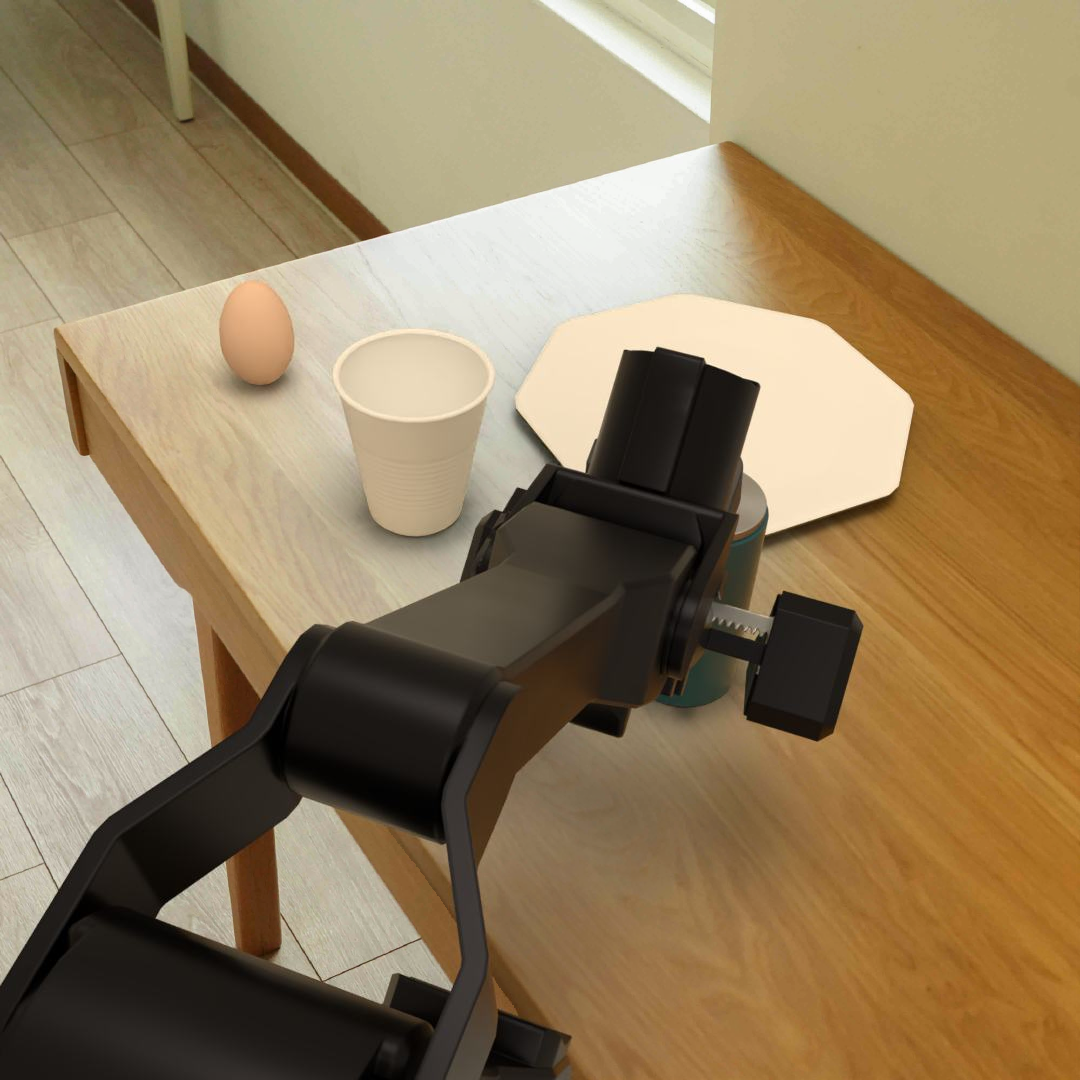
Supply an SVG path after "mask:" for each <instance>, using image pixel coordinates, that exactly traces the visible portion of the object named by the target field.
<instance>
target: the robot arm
mask: <svg viewBox="0 0 1080 1080" xmlns="http://www.w3.org/2000/svg"><path fill="white" fill-rule="evenodd" d="M760 388H761V386H760V384H759V383H758V382H756V381H752V380H749V379H744V378H742V377H740V376H737V375H735V374H733V373H730V372H728V371H726V370H723V369H720V368H717V367H715V366H712V365H709V364H706V361H705V359H704V358H703V357H698V356H694V355H690V354H686V353H682V352H678V351H674V350H670V349H666V348H662V347H656V349H655V351H645V350H623V354H622V357H621V360H620V364H619V367H618V370H617V374H616V377H615V381H614V384H613V387H612V391H611V394H610V398H609V401H608V404H607V408H606V411H605V415H604V418H603V421H602V425H601V428H600V432H599V435H598V438H597V439H595V440H594V443H593V445H592V448H591V451H590V453H589V456H588V459H587V461H586V470H585V472H581V471H577V470H573V469H570V468H566V467H562V466H561V465H560V464H556V463H555V464H554V463H551V462H547V463H545V465H544V466H543V467H542V469H541V470H540V472H539V473H538V474H537V475H536V477H535V478H534V479H533V481H532V482H531V484H530V485H529V486H528V488H525V489H524V488H522V487H518V486H517V487H516V488H515V490H514V492H513V493H512V495H511V496H510V498H509V499H508V501H507V503H506V505H505V507H504V509H503V510H498V509H493V510H492V511H490V512H489V513H487V514H486V515H484V516H483V517H481V519H480V520H479V522H478V523H477V525H476V526H475V528H474V532H473V535H472V539H471V541H470V542H471V543H470V545H469V549H468V552H467V555H466V559H465V563H464V566H463V569H462V572H461V575H460V579H459V582H458V583H456V584H453V585H450V586H449V587H446V588H444V589H442V590H439V591H437V592H434V593H432V594H431V595H428V596H426V597H422V598H421V599H419V600H416V601H414V602H411V603H409V604H407V605H405V606H402V607H400V608H397V609H396V610H393V611H391V612H388V613H386V614H383V615H382V616H379V617H376V618H374V619H373V620H370V621H368V622H366V623H362V622H358V621H356V620H350V621H345V622H344V623H342V624H340V625H339V626H337V627H335V626H333V625H330V624H324V623H314V624H313V625H312V626H310V627H309V628H308V629H306V630H305V631H304V632H302V633H301V634H300V635H299V637H298V638H297V639H296V641H295V642H294V644H293V645H291V648H290V649H289V650H288V652H287V653H286V655H285V656H284V658H283V660H282V662H280V663H281V664H280V665H279V667H278V669H277V670H276V672H275V674H274V676H273V677H272V678H271V681H270V683H269V685H268V686H267V688H266V690H265V691H264V693H263V695H262V697H261V699H260V701H259V702H258V704H257V705H256V707H255V709H254V711H253V713H252V714H251V716H250V718H249V720H248V721H247V723H246V724H245V725H244V726H242V727H241V728H239V729H237V730H236V731H235V732H233V733H231V734H230V735H229V736H227V737H226V738H224V739H223V740H221V741H220V742H217V744H215V745H214V746H212V747H211V748H209V749H208V750H206V751H205V752H203V753H202V754H200V755H199V756H197V757H196V758H194V759H193V760H191V761H190V762H188V763H187V764H185V765H184V766H182V767H181V768H179V769H178V770H177V771H174V772H173V773H172V774H170V775H169V776H167V777H166V778H165V779H163V780H162V781H160V782H159V783H157V784H156V785H154V786H152V787H151V788H150V789H148V790H147V791H145V792H144V793H142V794H141V795H139V796H138V797H136V798H135V799H133V800H131V801H129V803H127V804H125V805H124V806H122V807H121V808H119V809H118V810H117V811H116V812H114V813H112V814H111V815H109V816H108V817H107V818H106V819H105V820H104V821H103V822H102V823H101V824H100V825H99V826H98V827H97V828H96V829H95V830H94V831H93V833H92V834H91V835H90V838H89V839H88V841H87V843H86V844H85V845H84V848H83V849H82V851H81V852H80V854H79V856H78V857H77V858H76V861H75V862H74V864H73V865H72V867H71V869H70V870H69V872H68V873H67V875H66V877H65V879H64V880H63V882H62V884H61V885H60V886H59V888H58V890H57V892H56V894H54V897H52V900H51V901H50V903H49V905H48V906H47V908H46V910H45V911H44V913H43V915H42V916H41V918H40V919H39V921H38V923H37V925H36V926H35V928H34V929H33V931H32V933H31V934H30V936H29V937H28V939H27V941H26V943H25V944H24V945H23V947H22V949H21V950H20V952H19V954H18V955H17V957H16V959H15V960H14V962H13V963H12V965H11V967H10V968H9V970H8V972H7V974H6V975H5V977H4V978H3V980H2V981H1V983H0V1080H571V1078H572V1073H573V1065H572V1062H571V1061H570V1058H569V1056H568V1055H567V1052H568V1049H569V1048H570V1045H571V1042H572V1038H573V1036H572V1035H569V1034H567V1033H564V1032H562V1031H559V1030H556V1029H554V1028H551V1027H549V1026H546V1025H544V1024H540V1023H537V1022H535V1021H532V1020H529V1019H527V1018H524V1017H521V1016H519V1015H516V1014H513V1013H511V1012H508V1011H505V1010H503V1009H500V1008H498V1006H497V1005H498V1004H497V998H496V992H495V985H494V984H495V983H494V978H493V971H492V970H493V969H492V964H491V958H490V957H491V956H490V951H489V944H488V943H489V942H488V937H487V931H486V930H487V929H486V923H485V917H484V910H483V903H482V896H481V890H480V883H479V876H478V869H479V865H480V863H481V861H482V858H483V856H484V854H485V851H486V849H487V847H488V844H489V843H490V839H491V837H492V835H493V833H494V830H495V828H496V826H497V823H498V820H499V818H500V816H501V813H502V811H503V808H504V807H505V805H506V803H507V802H506V801H507V799H508V796H509V793H510V791H511V788H512V786H513V783H514V781H515V778H516V775H517V774H518V773H519V772H520V771H521V770H522V769H523V768H524V767H525V766H526V765H527V764H528V763H529V762H530V761H531V760H532V759H533V758H534V757H535V756H536V755H537V754H538V753H539V752H540V751H542V749H543V748H544V747H546V746H547V744H549V742H550V741H552V739H554V737H556V736H557V734H559V733H560V732H561V731H562V730H563V729H564V728H565V727H566V726H567V725H568V724H571V725H575V726H578V727H581V728H583V729H584V728H585V729H587V730H592V731H594V732H597V733H599V734H603V735H607V736H609V737H614V738H615V739H621V738H622V737H624V735H625V733H626V730H627V727H628V723H629V720H630V716H631V713H632V710H636V709H639V708H641V707H644V706H646V705H648V704H651V703H652V702H654V701H656V700H655V699H656V698H658V696H659V694H662V695H666V696H669V697H673V694H676V695H679V696H683V692H684V689H685V685H686V682H687V678H688V675H689V671H690V668H691V667H693V666H694V665H695V664H696V663H697V662H698V660H699V659H700V658H701V656H702V655H703V653H704V651H705V650H706V649H707V650H711V651H714V652H717V653H721V654H724V655H728V656H731V657H734V658H738V660H741V661H745V662H748V663H747V667H746V670H745V685H744V697H743V698H744V699H743V712H742V714H743V716H744V717H746V719H745V721H748V722H751V723H756V724H758V725H761V726H765V727H768V728H772V729H774V730H778V731H781V732H784V733H787V734H790V735H793V736H797V737H801V738H804V739H807V740H811V741H814V742H820V741H822V740H824V739H825V738H828V737H829V736H832V735H834V732H835V729H836V726H837V722H838V719H839V715H840V711H841V708H842V705H843V701H844V699H845V698H844V697H845V694H846V691H847V687H848V684H849V679H850V676H851V673H852V670H853V665H854V662H855V658H856V655H857V652H858V647H859V646H860V645H859V644H860V641H861V637H862V633H863V630H864V623H863V622H862V621H861V619H860V617H859V615H858V613H857V611H856V610H855V609H851V608H848V607H844V606H840V605H837V604H833V603H830V602H826V601H823V600H819V599H815V598H812V597H808V596H806V595H802V594H797V593H794V592H791V591H787V590H782V592H781V593H777V595H776V597H775V600H774V602H773V605H772V608H771V610H770V613H769V616H768V615H764V614H761V613H757V612H754V611H751V610H749V611H747V610H744V609H740V608H737V607H733V606H730V605H726V604H723V603H719V602H716V601H713V600H714V598H716V599H719V600H721V599H722V596H723V592H724V589H725V585H726V582H727V579H728V575H729V573H728V572H727V571H726V569H725V567H726V564H727V560H728V557H729V553H730V549H731V545H732V542H733V538H734V535H735V532H736V528H737V525H738V521H739V514H736V512H737V510H738V507H739V504H740V500H741V490H742V478H743V461H742V459H741V453H742V450H743V446H744V443H745V439H746V436H747V433H748V429H749V426H750V422H751V419H752V415H753V412H754V408H755V405H756V401H757V398H758V395H759V391H760ZM716 618H718V625H722V623H723V622H724V620H725V621H726V627H728V628H729V627H730V626H731V624H732V623H734V629H735V630H738V628H739V627H740V626H741V625H742V629H743V632H744V633H746V632H747V631H748V630H749V628H750V635H753V636H754V635H755V634H756V633H757V631H758V634H757V636H756V637H755V639H750V638H747V637H744V636H743V637H741V636H737V635H734V634H730V633H727V632H723V631H720V630H716V629H713V628H712V623H713V622H714V621H715V619H716ZM303 798H305V799H308V800H310V801H314V802H316V803H319V804H322V805H325V806H327V807H331V808H333V809H337V810H339V811H341V812H345V813H348V814H350V815H354V816H356V817H360V818H363V819H366V820H368V821H371V822H374V823H377V824H379V825H383V826H386V827H389V828H391V829H394V830H397V831H399V832H402V833H405V834H409V835H411V836H415V837H417V838H420V839H423V840H426V841H428V842H432V843H435V844H438V845H440V846H444V845H446V846H445V847H446V853H447V860H448V868H449V876H450V877H449V878H450V883H451V890H452V898H453V906H454V914H455V921H456V929H457V936H458V943H459V951H460V958H461V961H460V967H459V970H458V972H457V974H456V977H455V980H454V982H453V984H452V987H451V989H446V988H444V987H441V986H438V985H435V984H433V983H430V982H428V981H425V980H422V979H419V978H417V977H414V976H413V975H412V976H408V975H405V974H403V973H399V972H395V973H392V974H391V976H390V980H389V983H388V986H387V989H386V991H385V995H384V999H383V1002H382V1003H381V1002H377V1001H375V1000H372V999H370V998H366V997H364V996H361V995H359V994H357V993H354V992H351V991H348V990H345V989H343V988H340V987H338V986H335V985H332V984H329V983H327V982H325V981H321V980H319V979H317V978H314V977H311V976H309V975H306V974H304V973H301V972H298V971H296V970H293V969H290V968H287V967H285V966H282V965H279V964H278V963H274V962H272V961H269V960H266V959H265V958H262V957H258V956H256V955H253V954H251V953H248V952H246V951H242V950H241V949H237V948H234V947H232V946H230V945H227V944H224V943H221V942H219V941H217V940H214V939H211V938H208V937H205V936H203V935H200V934H198V933H196V932H193V931H190V930H187V929H185V928H182V927H179V926H177V925H174V924H171V923H169V922H167V921H165V920H161V919H159V918H157V917H158V915H159V913H160V911H161V910H162V909H163V907H164V906H166V904H168V903H169V902H170V901H172V900H173V899H174V898H176V897H177V896H179V895H180V894H182V893H183V892H184V891H186V890H188V889H189V888H190V887H191V886H193V885H194V884H196V883H197V882H199V881H201V880H202V879H203V878H204V877H206V876H207V875H209V874H210V873H211V872H213V871H214V870H215V869H217V868H218V867H220V866H221V865H223V864H225V863H226V862H227V861H228V860H229V859H231V858H232V857H234V856H235V855H237V854H238V853H240V852H241V851H242V850H244V849H246V848H247V847H248V846H249V845H251V844H253V843H254V842H256V841H257V840H258V839H259V838H261V837H262V836H263V835H265V834H266V833H268V832H269V831H270V830H272V829H273V828H275V827H276V826H277V825H280V823H282V822H284V820H286V819H288V818H289V816H290V815H291V814H292V813H293V812H294V810H295V809H296V808H298V806H299V805H300V803H301V801H302V799H303Z"/></svg>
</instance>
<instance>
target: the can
mask: <svg viewBox="0 0 1080 1080" xmlns="http://www.w3.org/2000/svg"><path fill="white" fill-rule="evenodd" d="M736 514H739V521H738V525H737V528H736V532H735V535H734V538H733V542H732V545H731V549H730V553H729V557H728V560H727V564H726V567H725V569H726V571H727V572H728V573H729V575H728V579H727V582H726V585H725V589H724V592H723V596H722V599H721V600H719V599H716V598H714V600H713V601H716V602H719V603H723V604H726V605H730V606H733V607H737V608H740V609H744V610H747V611H750V607H751V602H752V598H753V592H754V588H755V583H756V579H757V574H758V569H759V565H760V562H761V561H760V560H761V555H762V551H763V546H764V541H765V538H766V537H765V533H766V528H767V523H768V518H769V510H768V506H767V500H766V497H765V494H764V492H763V490H762V489H761V487H760V486H759V485H758V484H757V482H756V481H754V480H753V479H752V478H751V477H750V476H748V475H747V474H745V473H743V478H742V490H741V500H740V504H739V507H738V510H737V512H736ZM712 628H713V629H716V630H720V631H723V632H727V633H730V634H734V635H737V636H741V637H744V636H745V632H743V629H742V625H741V626H740V627H739V628H738V630H735V629H734V623H732V624H731V626H730V627H729V628H728V627H726V621H725V620H724V622H723V623H722V625H718V618H716V619H715V621H714V622H713V623H712ZM738 663H739V659H738V658H734V657H731V656H728V655H724V654H721V653H717V652H714V651H711V650H707V649H706V650H705V651H704V653H703V655H702V656H701V658H700V659H699V660H698V662H697V663H696V664H695V665H694V666H693V667H691V668H690V671H689V675H688V678H687V682H686V685H685V689H684V692H683V696H679V695H676V694H673V697H669V696H666V695H662V694H659V696H658V698H656V699H655V700H654V701H656V702H659V703H662V704H665V705H669V706H673V707H681V708H692V707H699V706H700V707H701V706H703V705H707V704H709V703H713V702H715V701H716V700H718V699H720V698H721V697H722V696H723V695H724V694H726V693H727V692H728V690H729V689H730V688H731V687H732V685H733V683H734V680H735V677H736V671H737V667H738Z"/></svg>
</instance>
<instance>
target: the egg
mask: <svg viewBox="0 0 1080 1080" xmlns="http://www.w3.org/2000/svg"><path fill="white" fill-rule="evenodd" d="M218 325H219V326H218V334H219V344H220V345H219V346H220V349H221V350H220V351H221V354H222V356H223V358H224V361H225V362H226V364H227V365H228V367H229V368H230V370H231V371H232V372H233V373H234V374H235V375H236V376H237V377H238V378H240V380H242V381H244V382H246V383H249V384H250V385H255V386H265V385H269V384H271V383H273V382H275V381H276V380H278V379H280V378H281V376H282V375H283V374H284V373H285V372H286V370H287V369H288V367H289V365H290V363H291V361H292V359H293V355H294V351H295V331H294V326H293V320H292V318H291V315H290V312H289V311H288V308H287V307H286V305H285V302H284V301H283V300H282V298H281V297H280V295H279V294H278V293H277V292H276V291H275V289H273V288H272V287H271V286H269V285H268V284H266V283H264V282H262V281H259V280H254V279H253V280H246V281H244V282H241V283H240V284H238V285H237V286H235V287H234V288H233V289H232V290H231V292H230V293H229V294H228V295H227V297H226V300H225V302H224V304H223V307H222V311H221V314H220V316H219V324H218Z"/></svg>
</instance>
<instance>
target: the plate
mask: <svg viewBox="0 0 1080 1080" xmlns="http://www.w3.org/2000/svg"><path fill="white" fill-rule="evenodd" d="M656 347H662V348H666V349H670V350H674V351H678V352H682V353H686V354H690V355H694V356H698V357H703V358H704V359H705V361H706V364H709V365H712V366H715V367H717V368H720V369H723V370H726V371H728V372H730V373H733V374H735V375H737V376H740V377H742V378H744V379H749V380H752V381H756V382H758V383H759V384H760V386H761V388H760V391H759V395H758V398H757V401H756V405H755V408H754V412H753V415H752V419H751V422H750V426H749V429H748V433H747V436H746V439H745V443H744V446H743V450H742V453H741V459H742V461H743V473H745V474H747V475H748V476H750V477H751V478H752V479H753V480H754V481H756V482H757V484H758V485H759V486H760V487H761V489H762V490H763V492H764V494H765V497H766V500H767V506H768V510H769V518H768V523H767V528H766V533H765V537H764V538H768V537H770V536H775V535H777V534H780V533H783V532H786V531H789V530H793V529H795V528H799V527H801V526H805V525H807V524H811V523H813V522H816V521H820V520H823V519H825V518H829V517H832V516H835V515H838V514H841V513H844V512H848V511H850V510H854V509H857V508H860V507H862V506H865V505H869V504H873V503H875V502H878V501H882V500H885V499H887V498H889V497H890V496H891V495H892V494H893V493H895V492H896V491H897V490H898V489H899V486H900V482H901V476H902V471H903V465H904V459H905V455H906V454H905V453H906V449H907V445H908V440H909V435H910V428H911V423H912V418H913V414H914V409H915V403H914V402H913V400H912V397H911V396H910V393H908V392H906V390H904V389H903V388H902V387H901V386H899V385H898V384H897V383H896V382H895V381H894V380H893V379H891V378H890V377H889V376H888V375H887V374H885V372H883V371H882V370H881V369H880V368H878V367H877V366H876V365H875V364H874V363H872V362H871V361H870V360H869V359H868V358H866V357H865V356H864V355H863V354H862V353H861V352H860V351H858V350H857V349H856V348H855V347H853V346H852V345H851V344H850V343H849V342H848V341H846V339H844V338H843V337H842V336H841V335H840V334H838V333H837V332H836V331H835V330H833V328H831V327H830V326H829V325H827V324H825V323H823V322H820V321H819V320H817V319H815V318H810V317H805V316H802V315H801V316H800V315H795V314H791V313H787V312H782V311H781V312H780V311H777V310H772V309H767V308H762V307H757V306H752V305H748V304H744V303H739V302H734V301H729V300H723V299H718V298H715V297H709V296H705V295H700V294H695V293H674V294H671V295H665V296H662V297H657V298H653V299H649V300H645V301H640V302H637V303H632V304H627V305H623V306H620V307H614V308H611V309H607V310H602V311H598V312H595V313H590V314H586V315H580V316H578V317H572V318H570V319H566V320H565V321H563V322H562V323H559V324H558V325H556V326H555V327H554V329H553V330H552V333H551V335H550V336H549V338H548V340H547V341H546V343H545V345H544V347H543V348H542V350H541V351H540V353H539V355H538V357H537V359H536V360H535V361H534V364H533V365H532V367H531V369H530V370H529V372H528V374H527V375H526V377H525V379H524V380H523V382H522V384H521V386H520V387H519V389H518V390H517V393H516V394H515V396H514V403H515V405H514V406H515V411H516V412H517V414H518V415H519V416H520V417H521V418H522V420H523V421H524V422H525V424H527V426H528V427H529V429H531V431H532V432H533V433H534V434H535V436H536V437H537V438H538V439H539V441H540V442H541V443H542V444H543V446H544V447H545V448H546V449H547V450H548V452H549V453H550V454H551V456H552V457H553V458H554V459H555V460H556V462H557V463H558V465H559V466H562V467H566V468H570V469H573V470H577V471H581V472H585V470H586V461H587V459H588V456H589V453H590V451H591V448H592V445H593V443H594V440H595V439H597V438H598V435H599V432H600V428H601V425H602V421H603V418H604V415H605V411H606V408H607V404H608V401H609V398H610V394H611V391H612V387H613V384H614V381H615V377H616V374H617V370H618V367H619V364H620V360H621V357H622V354H623V350H645V351H655V349H656Z"/></svg>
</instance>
